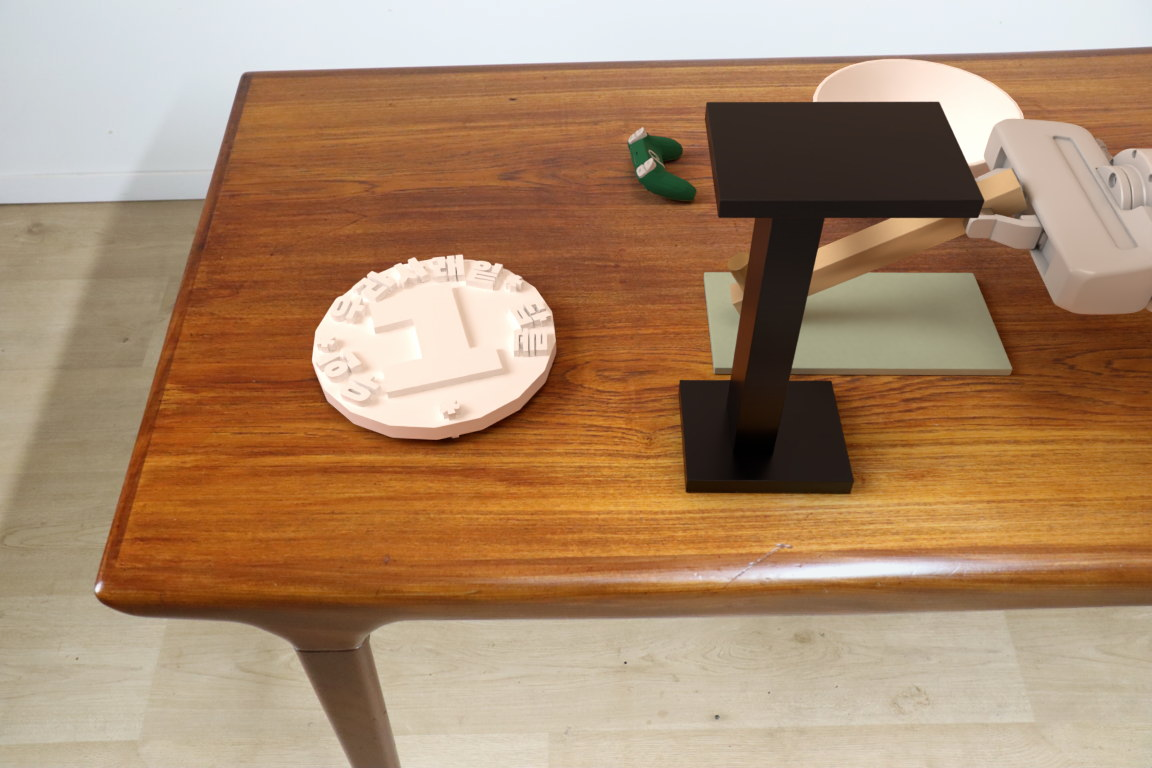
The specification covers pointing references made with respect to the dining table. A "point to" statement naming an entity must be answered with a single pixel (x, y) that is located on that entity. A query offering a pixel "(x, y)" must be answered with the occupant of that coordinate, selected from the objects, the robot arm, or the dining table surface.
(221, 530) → the dining table surface
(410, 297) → the giant coin
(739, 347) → the black pedestal stand
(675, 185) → the gaming controller
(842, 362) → the mat
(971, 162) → the bowl
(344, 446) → the dining table surface
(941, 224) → the long square wooden dowel
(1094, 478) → the dining table surface
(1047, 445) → the dining table surface
